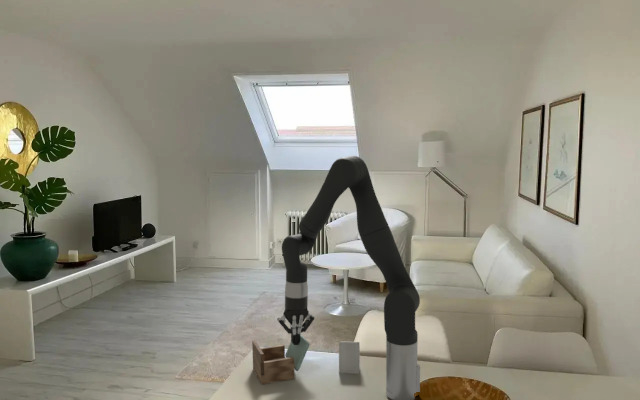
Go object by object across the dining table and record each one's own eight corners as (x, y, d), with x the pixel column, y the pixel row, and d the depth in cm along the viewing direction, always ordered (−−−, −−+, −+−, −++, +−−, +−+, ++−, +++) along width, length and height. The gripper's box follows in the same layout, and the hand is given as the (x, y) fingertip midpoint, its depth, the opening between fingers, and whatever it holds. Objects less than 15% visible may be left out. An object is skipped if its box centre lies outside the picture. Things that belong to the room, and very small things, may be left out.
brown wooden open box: (284, 364, 176) (283, 336, 175) (294, 378, 165) (294, 349, 164) (253, 369, 172) (252, 340, 171) (261, 384, 161) (260, 354, 160)
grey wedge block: (359, 373, 168) (359, 344, 167) (339, 372, 169) (338, 343, 168) (359, 368, 172) (359, 340, 171) (339, 367, 172) (339, 339, 171)
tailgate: (287, 357, 176) (298, 331, 177) (298, 371, 165) (309, 344, 165) (284, 356, 176) (295, 330, 176) (295, 370, 164) (306, 343, 165)
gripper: (280, 298, 163) (279, 350, 164) (318, 295, 167) (317, 346, 169) (274, 292, 170) (273, 342, 171) (311, 289, 174) (310, 338, 176)
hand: (295, 344), depth 170 cm, fingers closed
